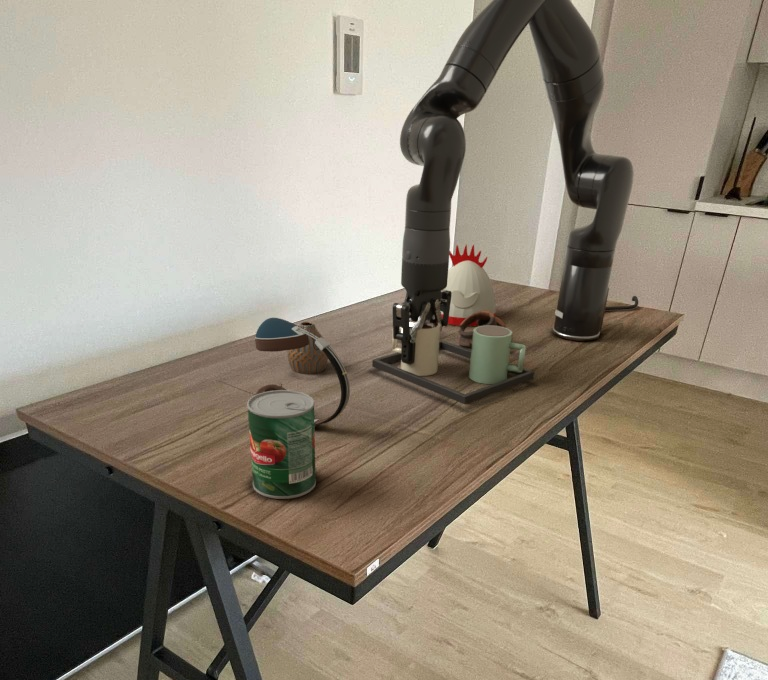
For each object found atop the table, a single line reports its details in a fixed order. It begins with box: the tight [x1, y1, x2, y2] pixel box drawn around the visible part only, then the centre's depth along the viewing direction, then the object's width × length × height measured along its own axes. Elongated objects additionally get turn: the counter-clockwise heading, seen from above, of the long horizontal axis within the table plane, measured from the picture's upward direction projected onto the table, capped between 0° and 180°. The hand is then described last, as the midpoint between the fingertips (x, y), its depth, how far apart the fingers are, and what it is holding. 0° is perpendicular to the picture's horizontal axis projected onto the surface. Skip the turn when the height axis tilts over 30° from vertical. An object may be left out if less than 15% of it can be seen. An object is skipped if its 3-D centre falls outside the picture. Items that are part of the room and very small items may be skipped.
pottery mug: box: [458, 311, 508, 348], centre depth 135 cm, size 12×10×8 cm
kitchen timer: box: [441, 243, 497, 327], centre depth 151 cm, size 14×14×15 cm
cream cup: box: [391, 319, 441, 377], centre depth 121 cm, size 9×6×8 cm
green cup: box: [468, 325, 527, 385], centre depth 117 cm, size 9×6×8 cm
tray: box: [371, 339, 535, 405], centre depth 121 cm, size 18×22×2 cm
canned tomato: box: [246, 389, 317, 500], centre depth 86 cm, size 8×8×11 cm
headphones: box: [218, 317, 351, 428], centre depth 101 cm, size 6×15×22 cm
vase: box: [286, 321, 329, 375], centre depth 120 cm, size 7×7×9 cm
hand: (419, 357), depth 121 cm, fingers closed on cream cup, 6 cm apart
